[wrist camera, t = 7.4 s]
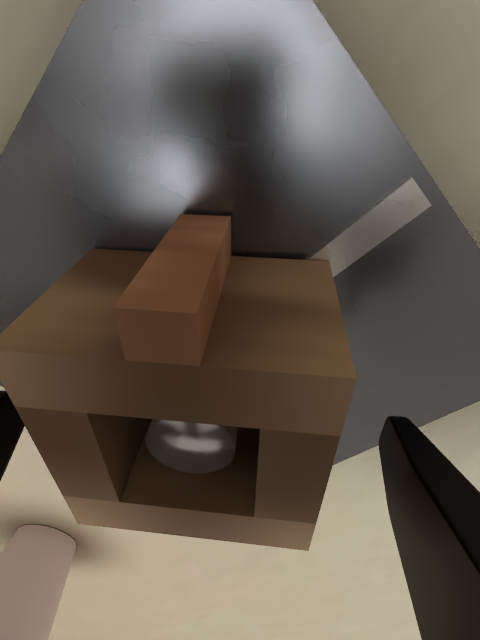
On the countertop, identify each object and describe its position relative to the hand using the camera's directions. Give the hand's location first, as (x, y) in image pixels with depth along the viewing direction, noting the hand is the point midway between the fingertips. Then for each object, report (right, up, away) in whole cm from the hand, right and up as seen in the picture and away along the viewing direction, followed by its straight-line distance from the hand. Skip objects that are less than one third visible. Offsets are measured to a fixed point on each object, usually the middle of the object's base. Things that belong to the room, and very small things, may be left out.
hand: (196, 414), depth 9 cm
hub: (0, +2, +3) cm, 4 cm away
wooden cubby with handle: (0, +1, +2) cm, 3 cm away
